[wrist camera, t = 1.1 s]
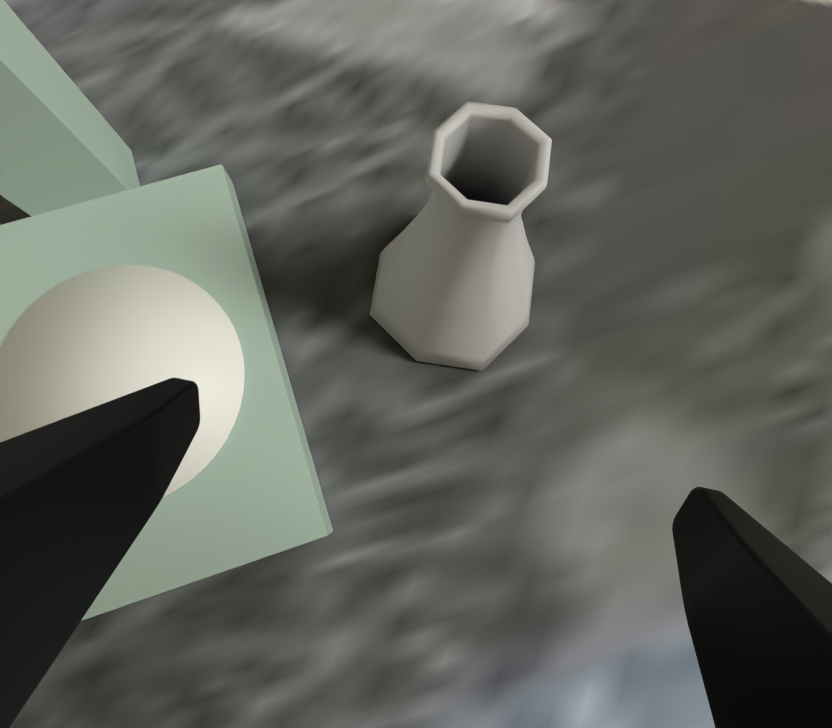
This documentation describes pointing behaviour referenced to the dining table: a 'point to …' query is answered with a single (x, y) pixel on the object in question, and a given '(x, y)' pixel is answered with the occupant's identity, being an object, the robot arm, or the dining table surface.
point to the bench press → (144, 326)
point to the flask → (466, 242)
